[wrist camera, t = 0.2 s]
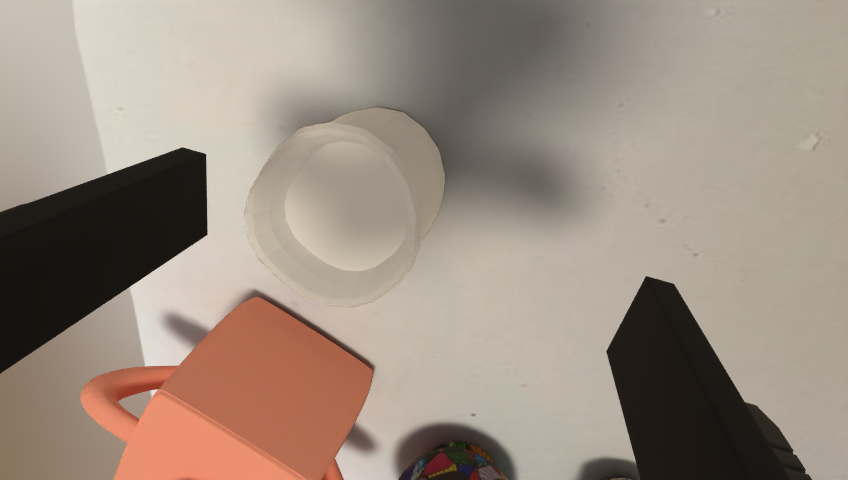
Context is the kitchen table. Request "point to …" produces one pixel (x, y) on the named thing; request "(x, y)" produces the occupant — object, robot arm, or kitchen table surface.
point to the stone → (621, 478)
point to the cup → (346, 205)
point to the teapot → (238, 404)
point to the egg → (453, 464)
